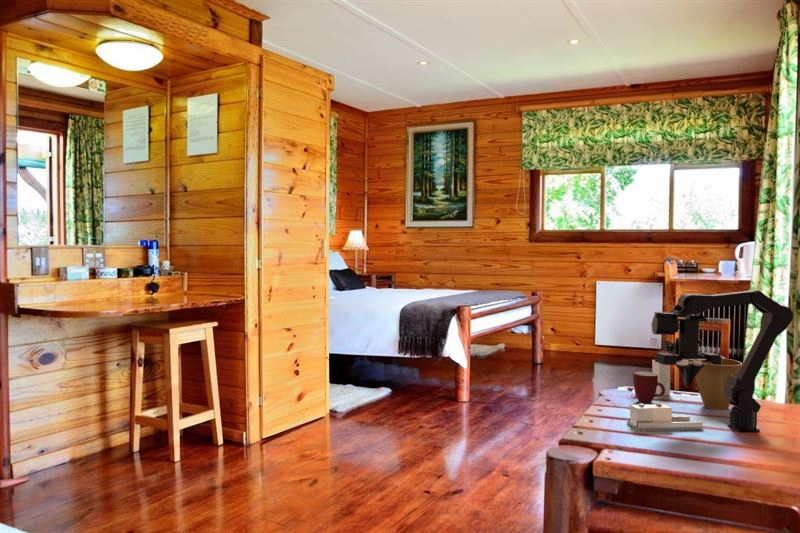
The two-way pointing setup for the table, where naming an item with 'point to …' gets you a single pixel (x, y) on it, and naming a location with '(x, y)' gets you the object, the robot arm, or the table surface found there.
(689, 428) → the rail
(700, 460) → the table surface
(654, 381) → the mug
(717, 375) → the plant pot
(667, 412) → the block
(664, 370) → the skincare box
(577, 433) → the table surface
